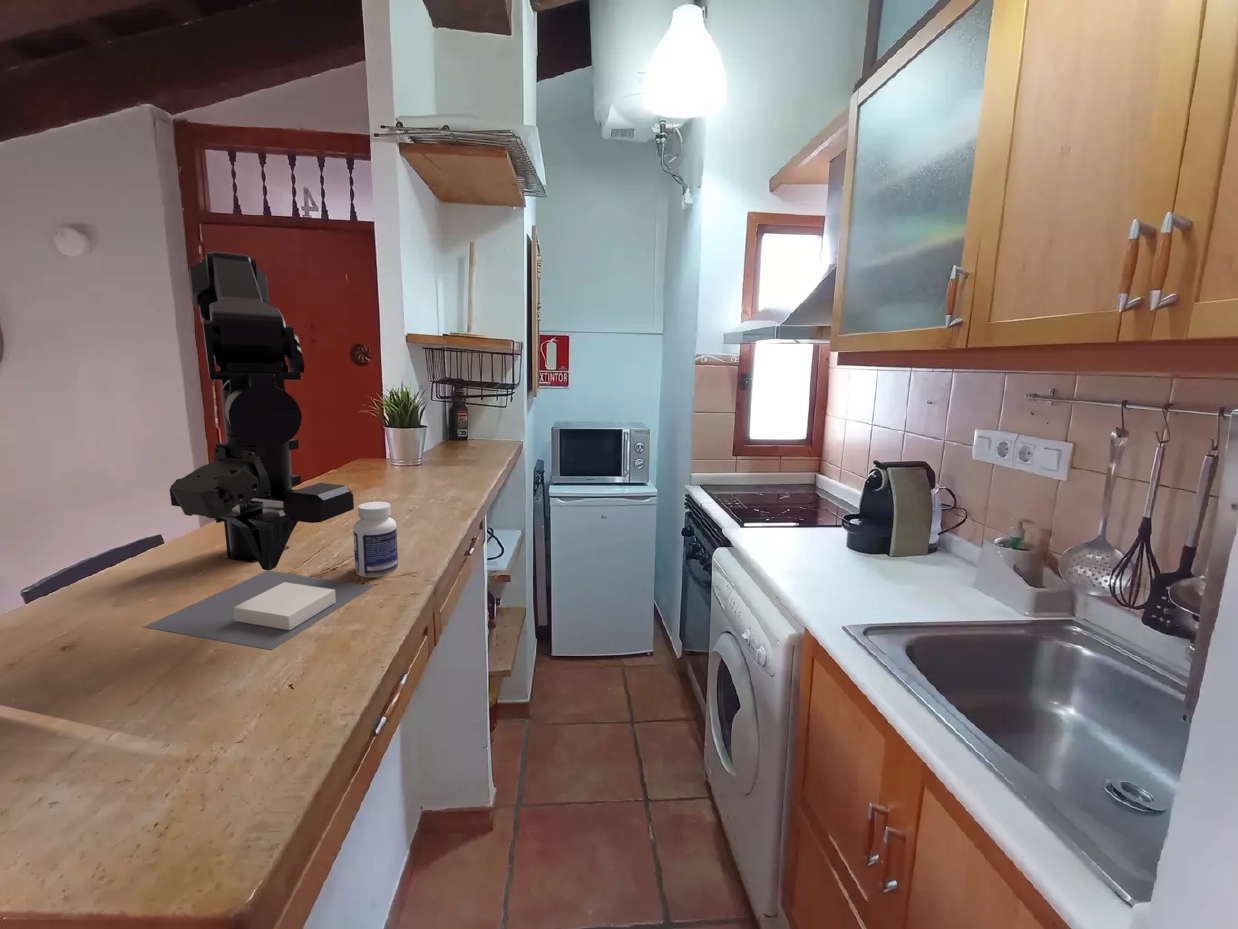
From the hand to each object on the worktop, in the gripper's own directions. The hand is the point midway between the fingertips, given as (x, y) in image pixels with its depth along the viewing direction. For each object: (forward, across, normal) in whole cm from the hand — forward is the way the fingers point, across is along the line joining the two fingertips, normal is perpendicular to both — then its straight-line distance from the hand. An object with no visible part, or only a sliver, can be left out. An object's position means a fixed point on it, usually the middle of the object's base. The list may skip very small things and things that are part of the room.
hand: (269, 569), depth 62 cm
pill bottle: (+6, +4, +14) cm, 16 cm away
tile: (+4, -2, 0) cm, 4 cm away
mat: (+6, -2, +1) cm, 6 cm away
